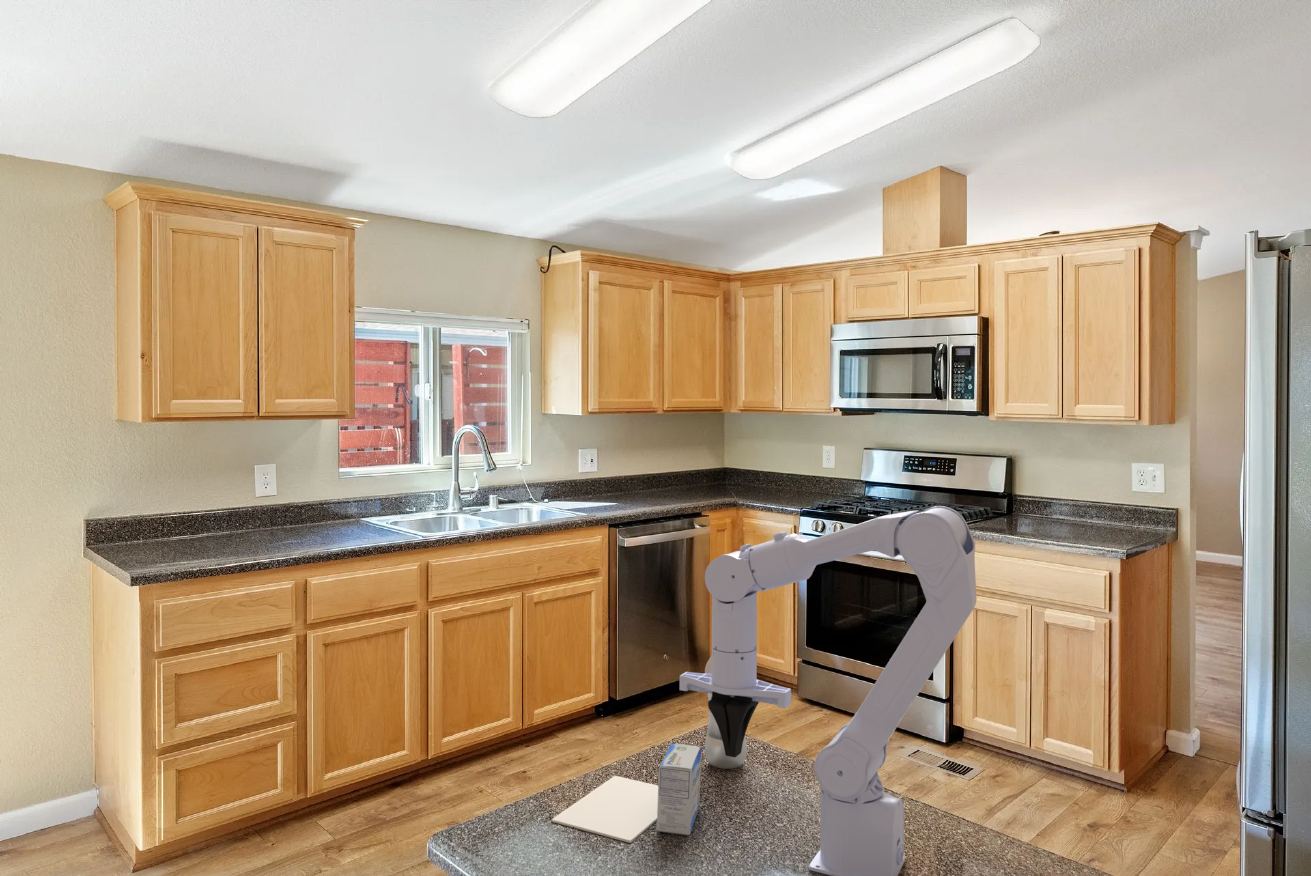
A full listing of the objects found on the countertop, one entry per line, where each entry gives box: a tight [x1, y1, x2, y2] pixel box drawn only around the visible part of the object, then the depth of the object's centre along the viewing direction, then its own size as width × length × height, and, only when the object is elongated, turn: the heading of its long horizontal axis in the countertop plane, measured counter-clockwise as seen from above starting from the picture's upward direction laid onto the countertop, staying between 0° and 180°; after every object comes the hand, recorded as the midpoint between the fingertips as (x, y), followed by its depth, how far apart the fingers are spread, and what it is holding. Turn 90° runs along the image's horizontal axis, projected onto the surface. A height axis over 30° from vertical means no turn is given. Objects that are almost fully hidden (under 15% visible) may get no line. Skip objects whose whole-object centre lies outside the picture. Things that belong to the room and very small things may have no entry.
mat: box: [551, 775, 658, 844], centre depth 115 cm, size 12×16×1 cm
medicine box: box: [656, 743, 702, 836], centre depth 111 cm, size 8×4×9 cm, turn 168°
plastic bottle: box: [704, 655, 748, 770], centre depth 130 cm, size 6×7×20 cm
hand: (733, 753), depth 108 cm, fingers closed
